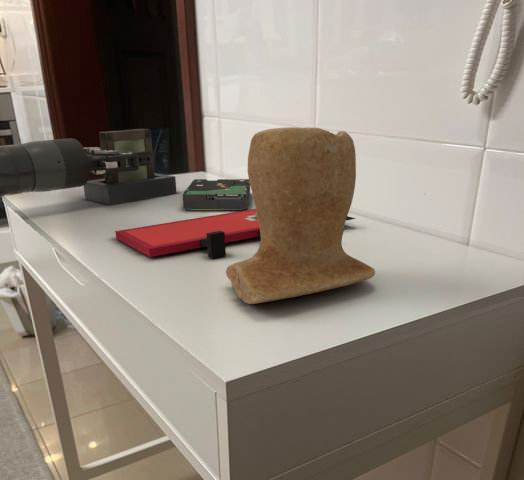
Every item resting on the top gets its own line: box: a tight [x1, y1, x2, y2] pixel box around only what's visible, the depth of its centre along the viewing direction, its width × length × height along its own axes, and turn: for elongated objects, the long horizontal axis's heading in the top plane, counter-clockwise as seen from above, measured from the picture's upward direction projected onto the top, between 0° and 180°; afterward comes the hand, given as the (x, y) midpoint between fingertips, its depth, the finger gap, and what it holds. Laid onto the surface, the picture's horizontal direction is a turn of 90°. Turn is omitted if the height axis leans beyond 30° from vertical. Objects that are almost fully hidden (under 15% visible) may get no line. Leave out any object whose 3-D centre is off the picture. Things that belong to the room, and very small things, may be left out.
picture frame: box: [98, 128, 155, 184], centre depth 98 cm, size 9×2×11 cm, turn 137°
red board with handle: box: [114, 208, 357, 260], centre depth 74 cm, size 30×3×15 cm
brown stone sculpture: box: [225, 126, 376, 305], centre depth 53 cm, size 15×12×15 cm
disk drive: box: [182, 178, 251, 211], centre depth 94 cm, size 10×3×15 cm
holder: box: [82, 172, 177, 206], centre depth 100 cm, size 8×14×3 cm, turn 137°
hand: (136, 155), depth 99 cm, fingers open, 8 cm apart
